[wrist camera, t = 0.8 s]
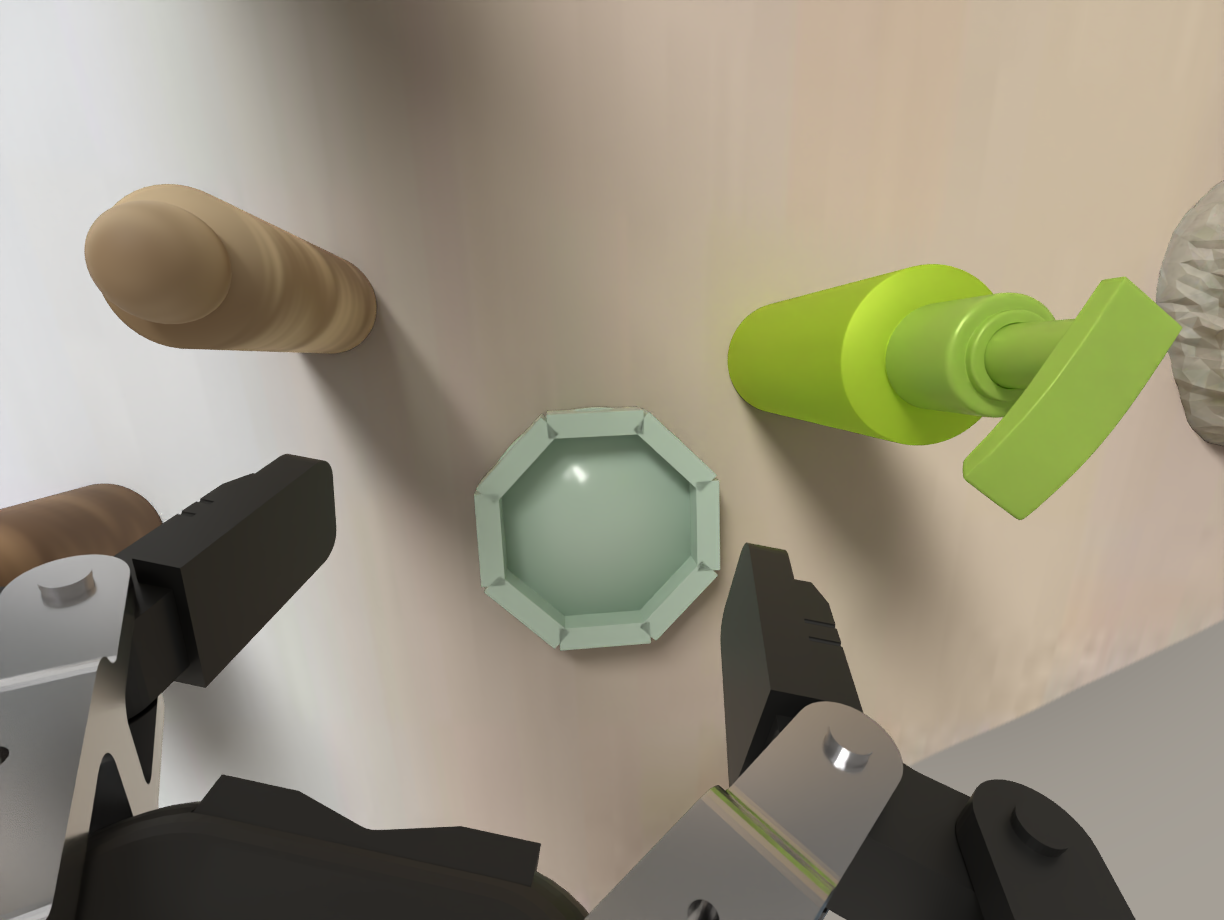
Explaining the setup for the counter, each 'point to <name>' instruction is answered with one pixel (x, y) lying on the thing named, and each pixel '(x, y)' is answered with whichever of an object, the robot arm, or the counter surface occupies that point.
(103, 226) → the salt mill
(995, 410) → the soap dispenser
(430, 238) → the counter surface
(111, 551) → the pepper mill
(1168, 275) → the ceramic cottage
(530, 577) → the dish
